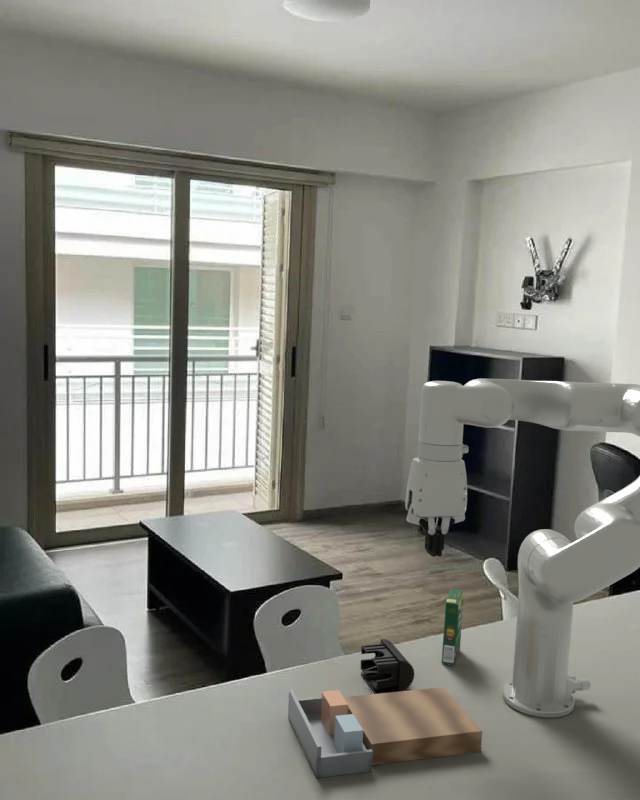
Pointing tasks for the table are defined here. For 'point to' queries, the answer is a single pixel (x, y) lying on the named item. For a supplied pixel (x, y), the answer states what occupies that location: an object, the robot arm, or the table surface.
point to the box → (323, 741)
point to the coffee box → (452, 626)
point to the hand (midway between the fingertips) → (433, 554)
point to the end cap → (386, 668)
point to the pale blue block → (347, 734)
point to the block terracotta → (332, 709)
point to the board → (414, 725)
